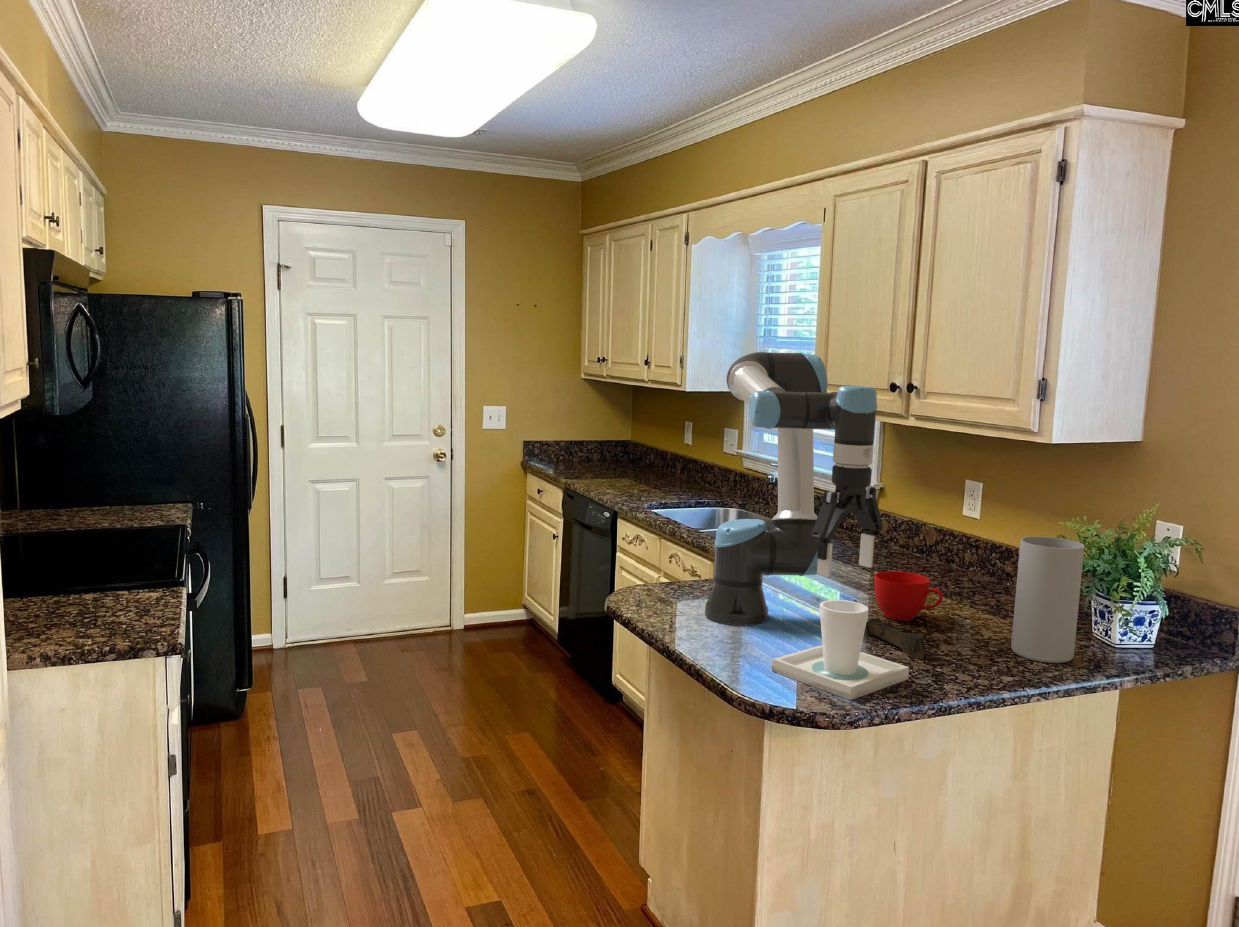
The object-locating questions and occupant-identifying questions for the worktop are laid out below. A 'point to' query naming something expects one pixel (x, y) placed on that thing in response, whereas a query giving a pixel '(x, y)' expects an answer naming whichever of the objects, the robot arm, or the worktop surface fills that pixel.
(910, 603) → the ceramic cup
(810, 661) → the square white tray
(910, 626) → the worktop surface
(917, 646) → the hand tool
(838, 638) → the foam cup
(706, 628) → the worktop surface
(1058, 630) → the cylinder vase
